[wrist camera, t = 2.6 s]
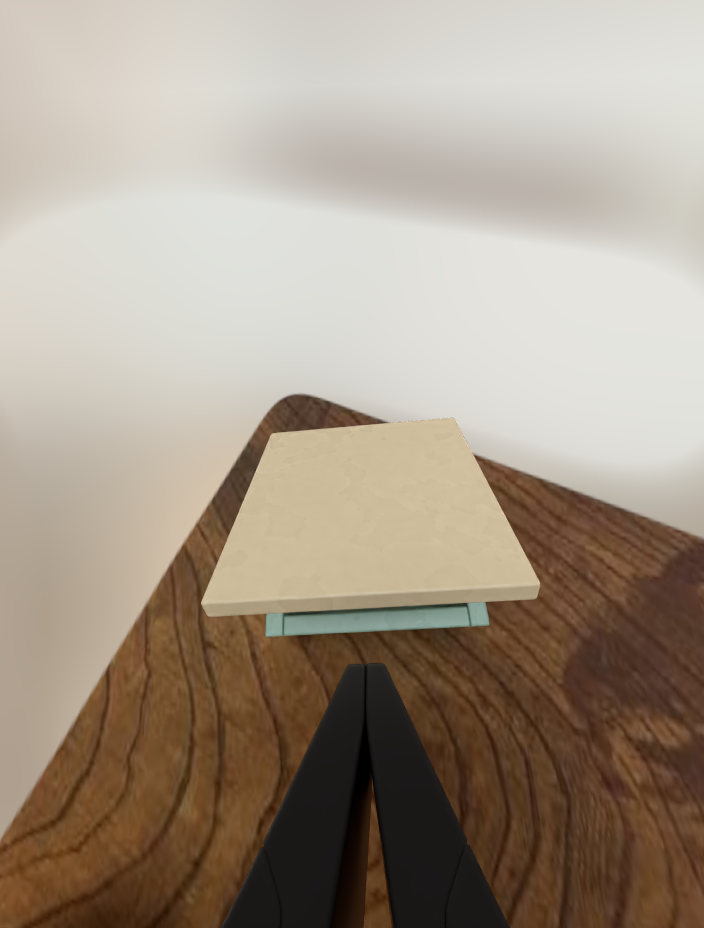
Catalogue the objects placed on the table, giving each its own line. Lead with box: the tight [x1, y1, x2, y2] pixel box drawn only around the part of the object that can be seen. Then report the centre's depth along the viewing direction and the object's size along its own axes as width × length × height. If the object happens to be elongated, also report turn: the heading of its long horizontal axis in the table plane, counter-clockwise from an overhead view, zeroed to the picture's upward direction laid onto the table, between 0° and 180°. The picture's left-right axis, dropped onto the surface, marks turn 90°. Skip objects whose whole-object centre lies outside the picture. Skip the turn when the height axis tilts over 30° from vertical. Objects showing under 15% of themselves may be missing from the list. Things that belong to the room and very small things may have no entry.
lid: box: [201, 418, 540, 617], centre depth 15 cm, size 10×10×1 cm
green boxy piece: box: [265, 602, 489, 637], centre depth 20 cm, size 10×10×6 cm
